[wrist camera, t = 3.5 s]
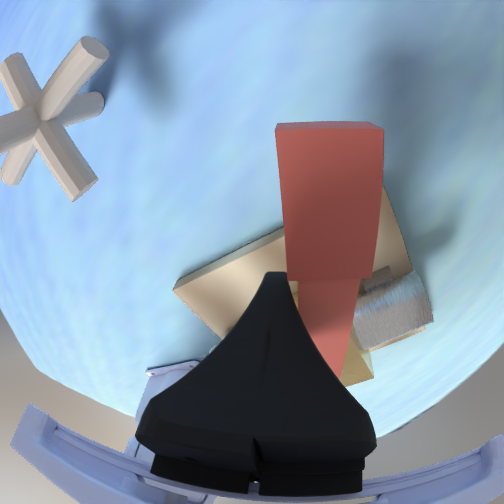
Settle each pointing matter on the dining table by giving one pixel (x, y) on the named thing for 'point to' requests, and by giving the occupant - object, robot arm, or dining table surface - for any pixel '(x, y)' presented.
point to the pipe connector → (50, 116)
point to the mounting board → (274, 259)
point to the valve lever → (330, 221)
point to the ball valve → (381, 319)
